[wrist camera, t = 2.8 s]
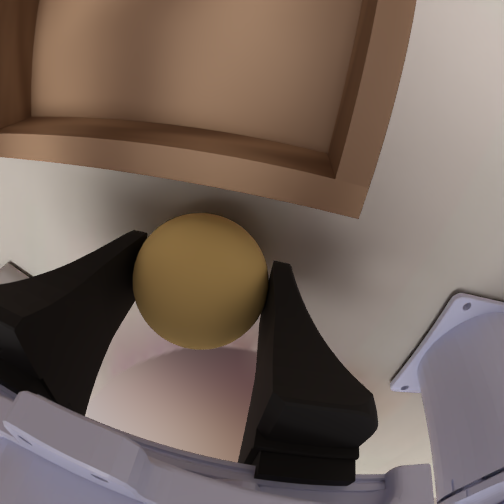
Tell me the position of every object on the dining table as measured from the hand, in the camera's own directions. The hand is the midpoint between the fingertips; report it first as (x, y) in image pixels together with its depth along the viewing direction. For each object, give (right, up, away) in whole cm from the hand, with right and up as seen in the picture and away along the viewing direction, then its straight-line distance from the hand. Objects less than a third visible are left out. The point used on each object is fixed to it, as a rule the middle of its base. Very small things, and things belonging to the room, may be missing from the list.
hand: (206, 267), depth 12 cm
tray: (-1, +10, -4) cm, 11 cm away
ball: (0, +1, +1) cm, 2 cm away
